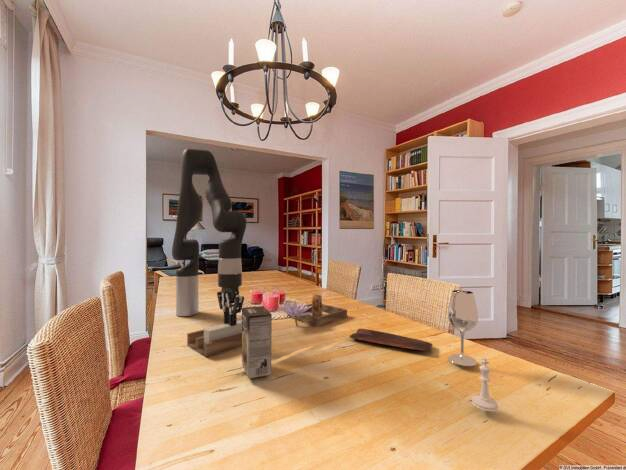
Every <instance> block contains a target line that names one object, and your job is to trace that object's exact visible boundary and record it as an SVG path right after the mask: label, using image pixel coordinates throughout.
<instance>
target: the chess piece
mask: <svg viewBox="0 0 626 470" xmlns="http://www.w3.org/2000/svg"><path fill="white" fill-rule="evenodd" d="M480 364H481V365H480V366H479V370H480V374H481V375H480V376H479V378H478V379H479V380H480V381H481V389H480V394H478V395H474V396H472V398H471V403H472V405H473V406H474V407H476V408H478V409H479V410H482V411H485V412H495V411H498V409H499V405H498V403H497V401H496V400H494V399H493V398H491V397H490V393H489V386H488V383H489V382H491V381H492V380H491V378H490V377H488V376H489V374H490V372H491V368H490V366H487V365H489V364H490V361H489V360H487V358H486V357H484V358H483V360H481V361H480Z"/></svg>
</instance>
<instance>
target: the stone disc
mask: <svg viewBox="0 0 626 470" xmlns="http://www.w3.org/2000/svg"><path fill="white" fill-rule="evenodd" d="M311 304H312V311H311V313H312V314H311V315H312V316H316V317H320V316H323V312H322V304H323V299H322V295H321V294H318V293H317V294H313V295H312V299H311Z"/></svg>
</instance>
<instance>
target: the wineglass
mask: <svg viewBox="0 0 626 470" xmlns="http://www.w3.org/2000/svg"><path fill="white" fill-rule="evenodd" d="M475 298H476V297H475V295H474V291H471V290H464V289H454V290H451V294H450V297H449V303H448V308H447V319H448V322H449V323H450V325H451V326H452V327H453V329H455V330H457V331H459V333H460V354H459V353H457V354H450V355H448V356H447V358H448V360H449V361H450V362H451V363H453V364H455V365H459V366H462V367H463V366H464V367H474V366H476V365H478V361H477V360H476V359H475V358H473V357H471V356H469V355H465V352H464V351H465V350H464V348H465V347H464V346H465V345H464V344H465V333H466V332H469V331H471V330H472V329H474V328H475V327H476V326H477V323H478V319H479V314H478V308H477V307H478V306H477V302H476V299H475Z"/></svg>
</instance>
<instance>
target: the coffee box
mask: <svg viewBox="0 0 626 470" xmlns="http://www.w3.org/2000/svg"><path fill="white" fill-rule="evenodd" d="M272 316H273V314H272V312H270V311H269V310H268V309H267V308H266V307H264V305H262V306H246V307H242V309H241V320H242V347H241V358H242V359H241V362H242V367H243V370H244V372H245V374H246V376H247V379H254V378H259V377H263V376H270V375H272V340H273V339H272V338H273V337H272V333H273V332H272V329H273V328H272V325H273V323H272Z"/></svg>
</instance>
